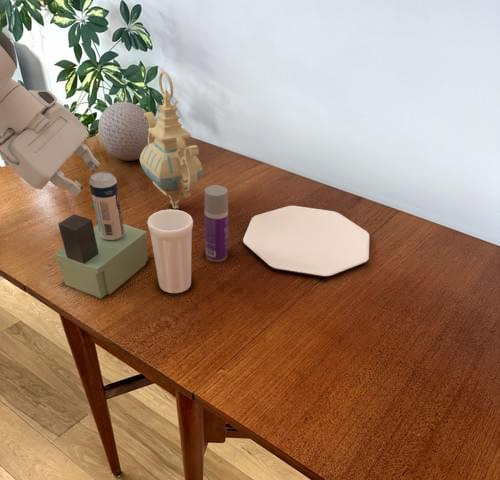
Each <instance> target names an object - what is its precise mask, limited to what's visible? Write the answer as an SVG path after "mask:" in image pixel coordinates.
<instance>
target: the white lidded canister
mask: <svg viewBox="0 0 500 480" xmlns="http://www.w3.org/2000/svg"><path fill="white" fill-rule="evenodd" d="M88 181H89V182H88V183H89V187H90V192H91V198H92V202H93V207H94V213H95V218H96V223H97V225H98V228H99V233H100V236H101V237H102V238H104V239H107V240H116V239H119V238H120V237H122V236H123V235H124V234H125V231H124V226H123V224H124V220H123V214H122V207H121V202H120V195H119V189H118V181H117V178H116V177H115V175H114V174H113V173H112V172H109V171H98V172H93V174H91V175H90V179H89V180H88Z"/></svg>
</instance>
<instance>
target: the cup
mask: <svg viewBox="0 0 500 480" xmlns="http://www.w3.org/2000/svg"><path fill="white" fill-rule="evenodd" d="M146 225H147V228H148V231H149V235H150V240H151V247H152V252H153V257H154V258H153V259H154V264H155V270H156V275H157V281H158V286H159V288H160V289H161V290H162V291H163V292H166V293H169V294H180V293H183V292H185V291H187V290H189V288H190V287H191V285H192V245H193V239H192V238H193V233H192V231H193V226H194V220H193V218H192V216H191V215H190V214H189V213H187V212H186V211H184V210H179V209H171V208H169V209H163V210H159V211H155V212H153V213H152V214H151V215H150V216H148V218H147V221H146Z"/></svg>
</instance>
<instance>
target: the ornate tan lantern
mask: <svg viewBox="0 0 500 480" xmlns="http://www.w3.org/2000/svg"><path fill="white" fill-rule="evenodd" d="M163 75H165V76H166V79H167V81H168V84H169V91H170V92H169V91H168V90H167V89H165V90H164V87H163V83H162V82H163V81H162V79H163ZM158 85H159V90H160V93H161V95H162V98H163V99H162V100H161V102H162V104H159V103H156V105H157V109H159V113H156V116H157V117H158V120H156V117H155V114H154V113H153V111H147V112H146V111H145V112H146V113H144V114H145V115H144V120H148V122H149V129H148V131H149V134H148V145H147V146H146V147H145V148H144V150H143V151H142V153H141V155H140V158H139V164H140V166H141V169H142V171H143V172H144V174H145V175H146V176H147V177H148V178H149V179H150V180H151V181H152V184H153V185H154V186H155V187H156V188H157V189H158V190H159V191H160V192H161V193H162V194H163V195H164V196H167V197H168V198H169V202H170V204H171V206H172V208H173V210H177V209H180V204H179V203H181V202H182V199H186V198H190V197H191V196H192V194H191V192H190V191H193V190H195V189H196V187H197V184H198V182H199V180H200V179H201V177H202V175H203V172H204V171H203V170H204V169H203V165H202V162H201V161H200V159H199V158H198V157H197V156H198V155H199V153H200V150H199V146H198V145H197V144H194V145H187V144H186V140H187V139H189V138H191V136H192V134H191V133H190V132H188V131H187V130H186V129H184V128H183V127H182V125H183V124H182V123H181V122H179V119H180V118H181V116H179V115H178V114H177V112H178V107H177V106H176V105H177V104H178V103H179V100H175V101H174V103H171V100H172V99H173V96H174V85H173V82H172V79H171V76H170V75H169V74H168V72H166V71H161V72H160V74H159V76H158Z"/></svg>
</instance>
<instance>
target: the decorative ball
mask: <svg viewBox="0 0 500 480" xmlns="http://www.w3.org/2000/svg"><path fill="white" fill-rule="evenodd" d="M144 113H146V111H145V110H144V109H143V108H141V106H139V105H136V104H135V103H132V102H128V101H119V102H118V101H117V102H113V103H112V104H110V105H109V106H107V107H106V108H105V109H104V110H103V112H102V113H101V115H100V117H99V119H98V125H97V126H98V127H97V129H98V130H97V131H98V137H99V140H100V142H101V144H102V146H103V148H104V149H105V150H106V151H107V152H108V153H109V154H110V155H111V156H113V157H115V158H116V159H119V160H122V161H127V162H128V161H129V162H131V161H136V160H140V155H141V153H142V151H143V150H144V148H145V147H146V146H147V145H148V134H149V131H148V129H149V122H148V120H144V115H145V114H144Z"/></svg>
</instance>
